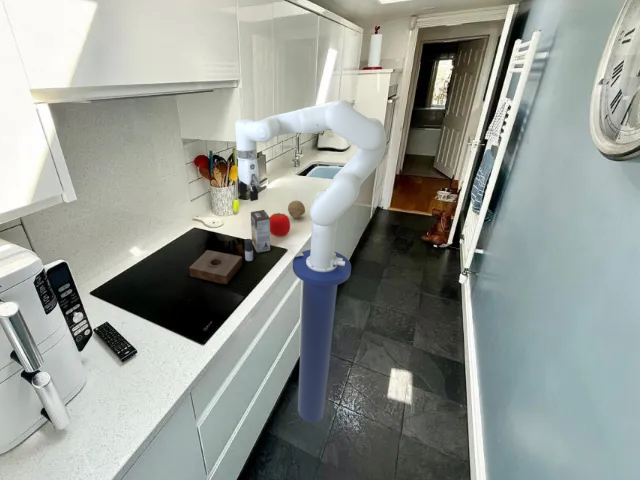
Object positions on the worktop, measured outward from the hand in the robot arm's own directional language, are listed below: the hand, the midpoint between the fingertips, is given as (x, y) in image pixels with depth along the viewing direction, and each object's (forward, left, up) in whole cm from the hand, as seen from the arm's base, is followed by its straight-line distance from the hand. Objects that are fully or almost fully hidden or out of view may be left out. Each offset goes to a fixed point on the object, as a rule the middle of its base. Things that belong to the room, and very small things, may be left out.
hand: (248, 196), depth 123 cm
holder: (+8, +17, -26) cm, 32 cm away
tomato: (-6, -20, -26) cm, 34 cm away
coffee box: (-2, -6, -26) cm, 27 cm away
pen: (-1, +5, -26) cm, 27 cm away
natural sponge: (-9, -40, -26) cm, 49 cm away
